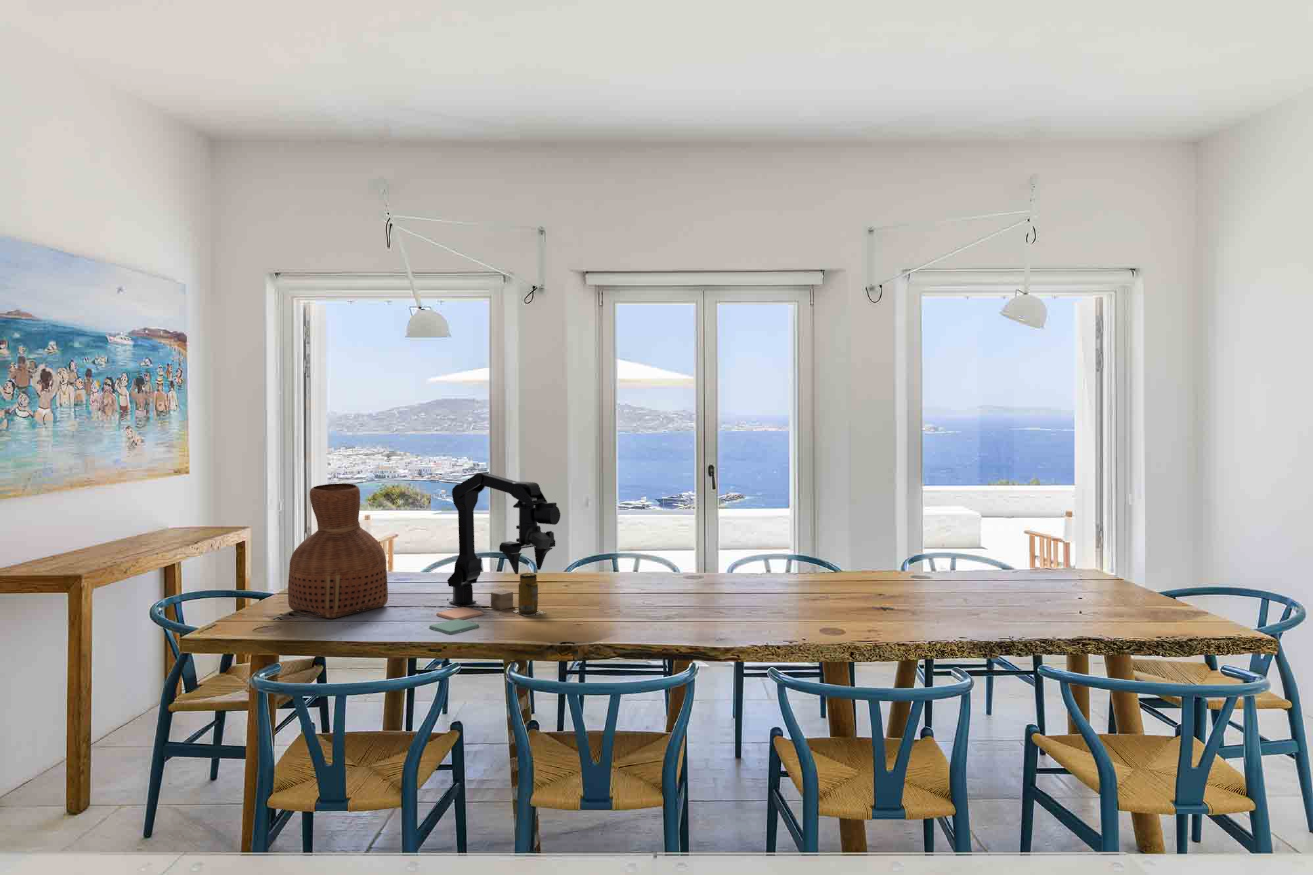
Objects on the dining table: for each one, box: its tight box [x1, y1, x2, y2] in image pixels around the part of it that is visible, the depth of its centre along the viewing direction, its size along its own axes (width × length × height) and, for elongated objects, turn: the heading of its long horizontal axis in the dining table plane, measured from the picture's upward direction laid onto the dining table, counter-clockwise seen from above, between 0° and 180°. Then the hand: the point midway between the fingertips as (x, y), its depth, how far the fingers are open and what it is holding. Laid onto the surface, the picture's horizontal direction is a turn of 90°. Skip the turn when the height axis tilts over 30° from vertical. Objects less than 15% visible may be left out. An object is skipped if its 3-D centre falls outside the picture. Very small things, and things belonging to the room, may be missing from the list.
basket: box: [287, 482, 389, 619], centre depth 244 cm, size 28×28×40 cm
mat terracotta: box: [435, 606, 484, 621], centre depth 237 cm, size 10×10×1 cm
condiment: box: [512, 572, 546, 617], centre depth 240 cm, size 7×8×12 cm
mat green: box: [429, 619, 480, 635], centre depth 222 cm, size 10×10×1 cm
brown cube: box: [490, 589, 514, 611], centre depth 247 cm, size 5×5×5 cm
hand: (527, 571), depth 240 cm, fingers open, 9 cm apart
